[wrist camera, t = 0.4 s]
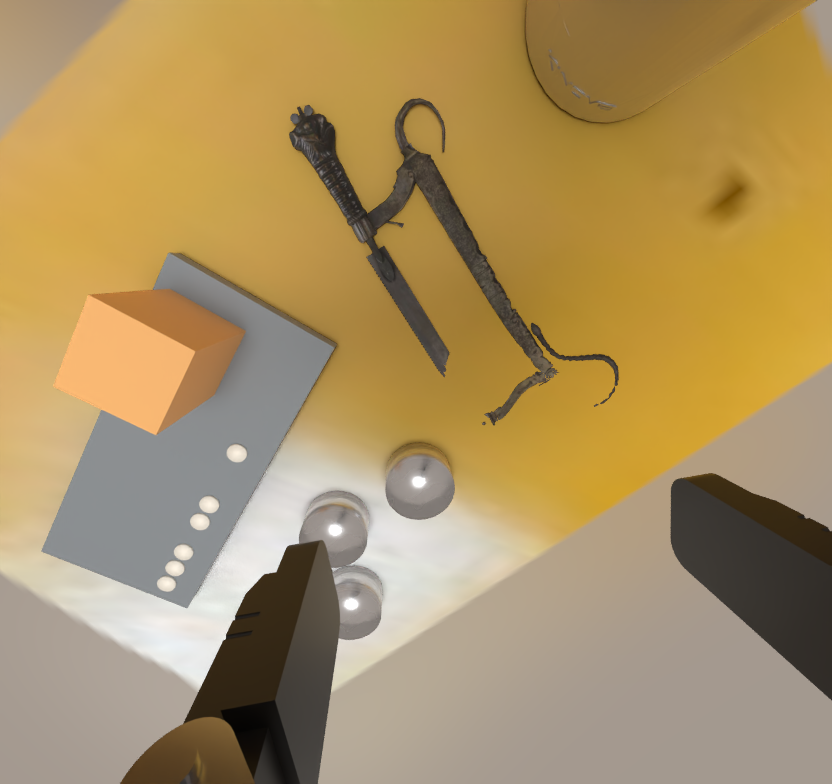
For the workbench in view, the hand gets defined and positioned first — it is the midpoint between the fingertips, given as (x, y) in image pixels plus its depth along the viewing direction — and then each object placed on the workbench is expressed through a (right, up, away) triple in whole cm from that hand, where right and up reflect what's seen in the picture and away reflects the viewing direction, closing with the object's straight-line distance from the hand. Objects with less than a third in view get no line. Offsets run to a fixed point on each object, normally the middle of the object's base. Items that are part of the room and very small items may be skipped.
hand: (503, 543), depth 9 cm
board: (-17, 0, +17) cm, 24 cm away
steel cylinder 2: (-7, -12, +21) cm, 25 cm away
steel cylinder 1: (-8, -6, +19) cm, 21 cm away
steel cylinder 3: (-2, -2, +18) cm, 18 cm away
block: (-15, +6, +14) cm, 21 cm away
